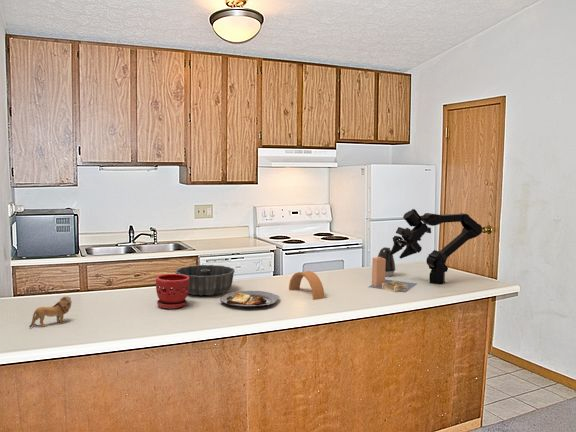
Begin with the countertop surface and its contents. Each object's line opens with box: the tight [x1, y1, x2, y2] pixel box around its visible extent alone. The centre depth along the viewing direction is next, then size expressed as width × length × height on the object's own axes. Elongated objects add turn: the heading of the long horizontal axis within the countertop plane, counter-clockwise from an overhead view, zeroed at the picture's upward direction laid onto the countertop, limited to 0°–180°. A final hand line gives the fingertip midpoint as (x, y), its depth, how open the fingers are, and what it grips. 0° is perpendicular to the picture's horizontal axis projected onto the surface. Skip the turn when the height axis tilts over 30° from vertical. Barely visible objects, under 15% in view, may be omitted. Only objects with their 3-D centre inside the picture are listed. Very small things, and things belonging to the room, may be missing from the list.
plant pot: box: [155, 273, 189, 310], centre depth 200 cm, size 13×13×12 cm
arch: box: [288, 270, 325, 301], centre depth 221 cm, size 6×20×10 cm, turn 32°
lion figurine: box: [28, 295, 73, 328], centre depth 175 cm, size 15×5×9 cm, turn 138°
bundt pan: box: [174, 264, 236, 297], centre depth 223 cm, size 26×26×10 cm
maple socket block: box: [381, 280, 408, 293], centre depth 229 cm, size 8×8×2 cm
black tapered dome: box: [377, 246, 396, 278], centre depth 259 cm, size 10×10×15 cm
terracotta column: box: [371, 256, 386, 287], centre depth 236 cm, size 4×4×14 cm
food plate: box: [219, 290, 280, 308], centre depth 207 cm, size 25×23×4 cm
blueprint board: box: [368, 278, 418, 293], centre depth 237 cm, size 18×20×1 cm
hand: (395, 256), depth 238 cm, fingers open, 9 cm apart
